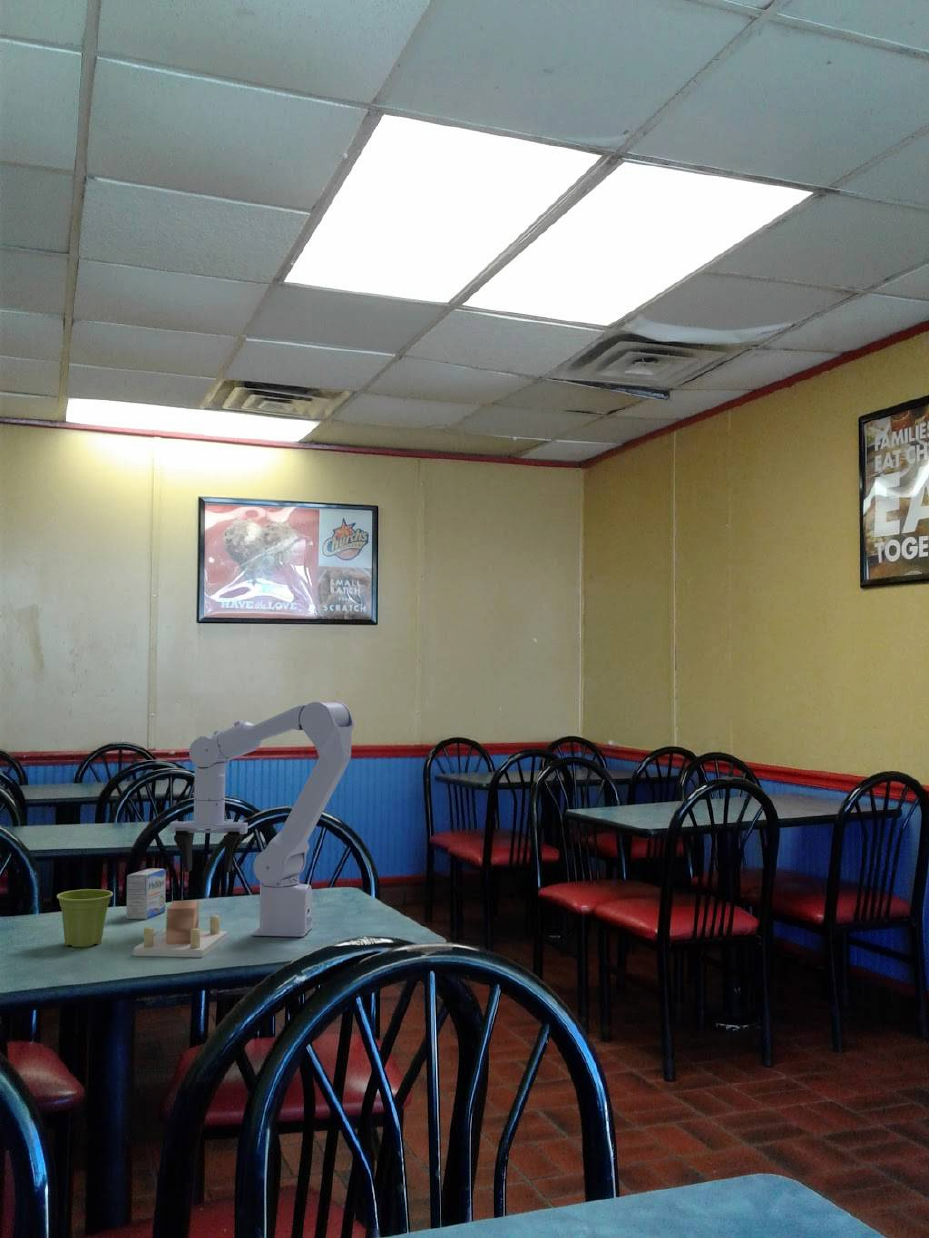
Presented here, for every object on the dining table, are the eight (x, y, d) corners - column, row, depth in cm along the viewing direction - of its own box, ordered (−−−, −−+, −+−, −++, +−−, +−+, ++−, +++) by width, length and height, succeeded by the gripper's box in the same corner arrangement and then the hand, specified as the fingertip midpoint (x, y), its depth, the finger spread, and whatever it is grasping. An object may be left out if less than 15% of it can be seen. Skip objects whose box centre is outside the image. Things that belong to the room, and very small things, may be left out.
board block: (198, 934, 191) (198, 900, 192) (193, 943, 184) (193, 908, 185) (172, 934, 191) (173, 900, 191) (166, 944, 184) (167, 908, 184)
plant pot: (111, 935, 195) (112, 887, 196) (112, 947, 186) (113, 897, 187) (56, 939, 192) (57, 890, 193) (54, 951, 183) (55, 900, 184)
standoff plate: (227, 938, 194) (228, 914, 194) (202, 957, 180) (203, 931, 180) (163, 936, 195) (163, 913, 195) (133, 955, 181) (134, 930, 181)
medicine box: (146, 920, 209) (147, 875, 209) (125, 919, 210) (126, 874, 210) (165, 911, 216) (166, 868, 217) (145, 910, 217) (146, 867, 218)
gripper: (252, 797, 208) (251, 868, 208) (179, 796, 209) (177, 867, 208) (242, 801, 201) (241, 874, 201) (166, 800, 202) (165, 873, 201)
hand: (207, 871), depth 204 cm, fingers open, 7 cm apart
